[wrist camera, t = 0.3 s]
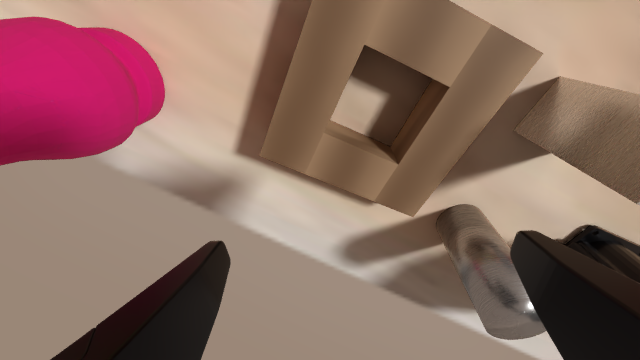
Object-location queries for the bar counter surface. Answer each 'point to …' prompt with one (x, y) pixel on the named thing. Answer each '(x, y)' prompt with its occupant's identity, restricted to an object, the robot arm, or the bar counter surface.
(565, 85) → the square bit
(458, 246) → the round bit
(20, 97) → the pepper mill
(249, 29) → the bar counter surface
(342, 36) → the bore block
